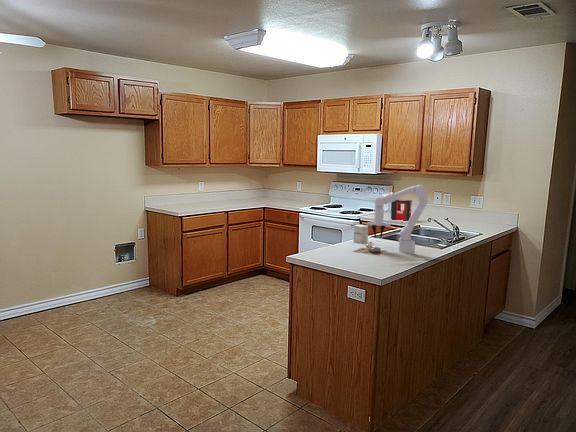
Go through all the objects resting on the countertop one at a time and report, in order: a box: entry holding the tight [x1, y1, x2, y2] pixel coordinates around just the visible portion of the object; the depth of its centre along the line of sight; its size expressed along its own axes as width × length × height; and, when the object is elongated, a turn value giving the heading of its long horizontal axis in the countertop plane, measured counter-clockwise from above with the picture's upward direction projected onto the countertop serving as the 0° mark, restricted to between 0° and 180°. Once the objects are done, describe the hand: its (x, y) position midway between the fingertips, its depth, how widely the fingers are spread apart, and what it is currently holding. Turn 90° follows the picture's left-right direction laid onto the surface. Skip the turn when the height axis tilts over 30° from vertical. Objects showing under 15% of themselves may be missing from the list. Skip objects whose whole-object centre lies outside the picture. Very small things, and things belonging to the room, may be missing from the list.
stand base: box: [352, 247, 389, 257], centre depth 274 cm, size 18×15×1 cm
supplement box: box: [353, 224, 369, 245], centre depth 305 cm, size 7×7×13 cm
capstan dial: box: [365, 240, 382, 253], centre depth 275 cm, size 14×7×5 cm, turn 17°
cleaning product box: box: [390, 199, 413, 221], centre depth 406 cm, size 16×9×20 cm, turn 65°
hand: (378, 237), depth 277 cm, fingers open, 3 cm apart
